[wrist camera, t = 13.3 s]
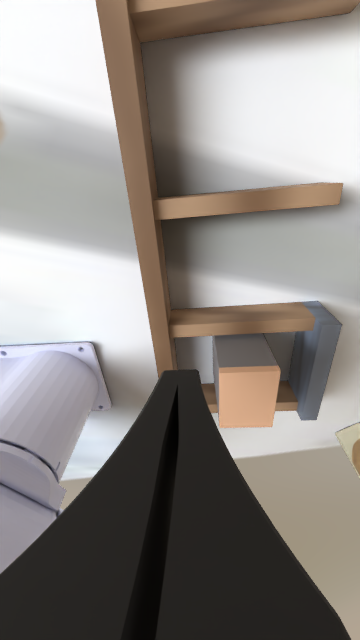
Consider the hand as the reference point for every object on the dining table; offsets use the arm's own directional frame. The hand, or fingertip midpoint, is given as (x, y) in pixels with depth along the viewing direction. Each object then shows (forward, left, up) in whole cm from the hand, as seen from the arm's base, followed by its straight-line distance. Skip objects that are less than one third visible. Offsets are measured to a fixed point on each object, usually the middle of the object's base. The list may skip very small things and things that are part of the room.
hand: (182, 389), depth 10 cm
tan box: (+4, -6, -11) cm, 13 cm away
